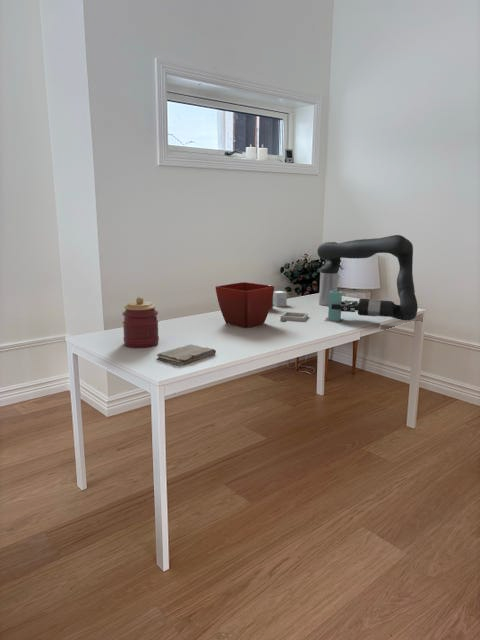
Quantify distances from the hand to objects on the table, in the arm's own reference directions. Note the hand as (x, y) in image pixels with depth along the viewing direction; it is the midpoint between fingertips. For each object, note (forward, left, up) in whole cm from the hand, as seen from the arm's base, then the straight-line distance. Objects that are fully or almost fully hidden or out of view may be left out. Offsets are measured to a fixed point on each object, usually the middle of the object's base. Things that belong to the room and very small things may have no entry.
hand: (332, 304), depth 217 cm
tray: (+3, -17, -8) cm, 19 cm away
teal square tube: (0, +1, -7) cm, 7 cm away
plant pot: (+19, -36, -8) cm, 41 cm away
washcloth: (+74, -39, -8) cm, 84 cm away
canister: (+64, -62, -8) cm, 89 cm away
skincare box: (-28, -32, -8) cm, 43 cm away
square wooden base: (0, +1, -7) cm, 7 cm away
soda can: (-16, -36, -8) cm, 40 cm away
